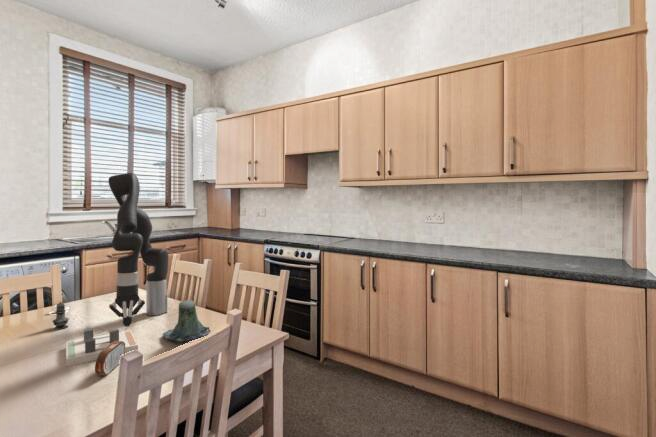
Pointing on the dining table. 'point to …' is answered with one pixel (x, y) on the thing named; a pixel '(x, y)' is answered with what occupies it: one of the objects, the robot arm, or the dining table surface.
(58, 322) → the grey chess pawn
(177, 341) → the green bell-shaped piece
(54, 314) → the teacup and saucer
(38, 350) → the dining table surface
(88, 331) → the block
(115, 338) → the block
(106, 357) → the tin
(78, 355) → the board
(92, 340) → the block
